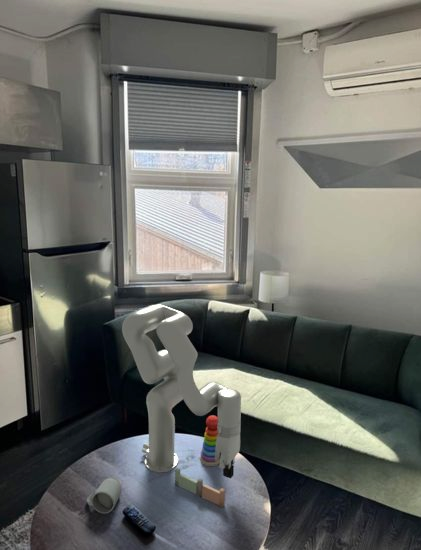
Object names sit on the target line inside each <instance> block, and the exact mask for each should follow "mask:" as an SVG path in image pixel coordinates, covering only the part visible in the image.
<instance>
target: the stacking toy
mask: <svg viewBox="0 0 421 550" xmlns="http://www.w3.org/2000/svg"><path fill="white" fill-rule="evenodd" d="M205 425H206V427H205V432H204V436H203V437H204V438H203V442H202V448H201V451H200V457H199V460H200V463H202V464H203V465H204V466H207V467H216V466H218V465H220V459H219V461H218V462H216V461H215V448H216V440H217V434H218V416H216V415H213V414H212V415H209V416H208V417H207V418H206V421H205Z"/></svg>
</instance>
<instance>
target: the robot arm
mask: <svg viewBox="0 0 421 550" xmlns="http://www.w3.org/2000/svg"><path fill="white" fill-rule="evenodd" d="M193 325H194V324H193V321H192V320H191V318H190V317H189V316H188V315H187V314H186V313H184V312H182V311H180V310H177V309H174V308H172V307H168V306H166V305H163V304H153V305H152V304H151V305H150V306H147V307H144V308H141V309H139V310H136V311H134V312H131V313H130V314H129V315H127V316H126V318H124V320H123V322H122V327H121V333H122V335H123V338H124V341H125V342H126V344H127V345H128V348H129V349H130V351H131V354H132V357H133V360H134V362H135V364H136V367H137V370H138V372H139V375H140V377H141V379H142V381H143V382H144V383H146V384H147V385H153V384H155V383H157V382H159V381H161V380H162V379H163V381H162V382H160V383H158V384H157V385H156V386H154V387H153V388H151V389H150V390H149V392H147V395H146V401H145V403H146V408H147V413H148V414H147V415H148V443H147V442H144V444H143V445H142V449H141V452H142V453H143V454H145V455H146V456H145V457H144V465H145V467H146V468H147V470H149V471H150V472H152V473H157V474H158V473H159V474H161V473H162V474H163V473H167V472H170V471H172V470H175V469H176V468H177V465H178V463H179V457H178V455H177V453H176V452H175V439H176V438H175V433H176V431H175V430H176V425H175V424H176V421H175V420H176V418H175V416H174V414H173V413H172V410H173V408H174V407H175V406H177V404H179V403H180V402H182V401H184V403H185V405H186V406H187V407H188V409H189V410H190V411H191V412H192V413H193V414H195V416H199V417H203V416H205V415H207V414H208V413H210V412H211V411H212V410H213V409H214V408H215V407H217V417H218V434H217V440H216V448H215V461H216V462H218V461H219V459H220V463H219V464H218V465H219V466H218V467H219V469H221V470H222V476H224V477H225V478H228V479H232V477H233V476H234V475H235V474H234V470H235V469H234V468H235V460H236V456H237V455H238V454H239V452H240V450H241V426H242V425H241V423H242V421H241V419H242V418H241V417H242V416H241V414H242V395H241V393H240V392H239V391H238V390H237V389H233V388H228V387H226V386H224V385H222V384H221V383H219V382H216V381H210V382H208V383H206V384H205V385H204V386H202V387H200V388H198V386H197V384H196V382H195V378H194V367H195V363H196V362H197V358H198V356H199V354H198V352H197V351H198V350H196V348H195V346H194V345H193V343H192V342H191V340H190V339H189V337H188V336H189V334H191V333H192V331H193V328H194V327H193ZM153 330H156V334H157V337H158V339H159V340H160V342H161V343H162V345H163V347H164V348H165V349H161V350H157V347H156V346H155V343H154V342H153V340H152V339H151V338H150V337H149V336H148V335H146V333H148V332H151V331H153Z"/></svg>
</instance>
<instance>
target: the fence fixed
mask: <svg viewBox="0 0 421 550" xmlns="http://www.w3.org/2000/svg"><path fill="white" fill-rule="evenodd" d="M197 481H198V479H197V480H196V479H195V478H192V477H191V476H188V475H185V474H183V473H181V468H180V467H179V468H177V467H175V468H174V486H176V487H177V486H179V487H180V488H183V489H184V490H187V491H189V492H191V493H193V494H195V495H197Z"/></svg>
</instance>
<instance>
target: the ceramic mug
mask: <svg viewBox="0 0 421 550" xmlns="http://www.w3.org/2000/svg"><path fill="white" fill-rule="evenodd" d="M121 493H122V484H121V483H120V481H119V480H118V479H116V478H113V477H107V478H105V479H104V480H103V481H102V482H101V483H100V485H99V487H98V488H97V489H96V490H95V491H93V492H92V493H91V494H90V495H89V496H88V497H87V498H86V503H87V505H88V506H89V507H93V509H94V510H95V511H97V513H100V514H109V513H111V512H112V511H113V510H114V508H115V506H116V505H117V502H118V500H119V498H120V496H121Z"/></svg>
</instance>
